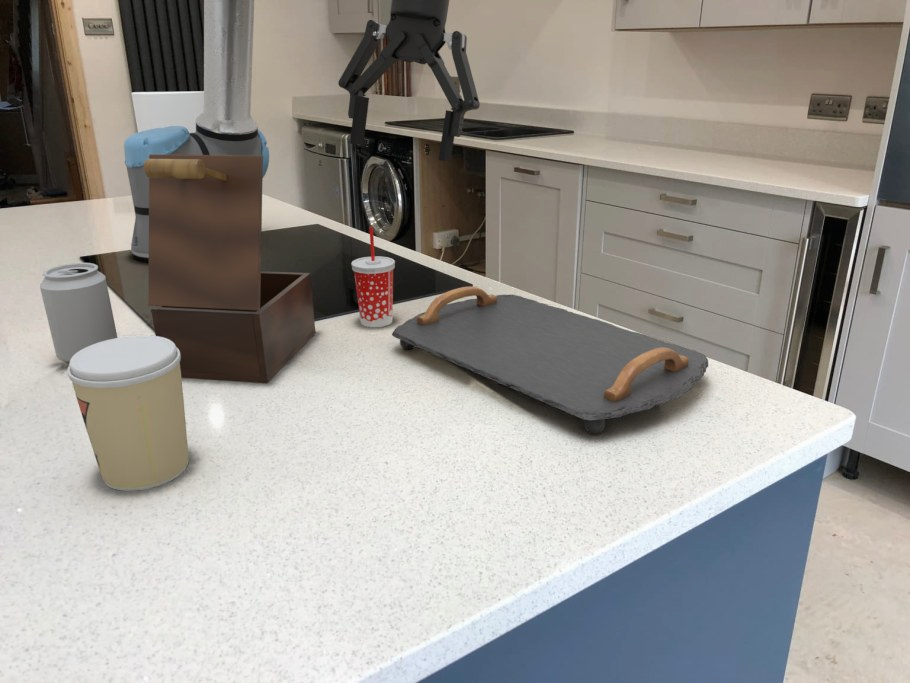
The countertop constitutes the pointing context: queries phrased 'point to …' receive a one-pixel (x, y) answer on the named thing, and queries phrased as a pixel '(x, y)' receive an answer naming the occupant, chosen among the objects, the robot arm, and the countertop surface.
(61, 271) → the can
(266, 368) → the chest
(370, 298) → the beverage cup
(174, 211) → the lid
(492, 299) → the serving tray
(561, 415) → the countertop surface
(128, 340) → the coffee cup
